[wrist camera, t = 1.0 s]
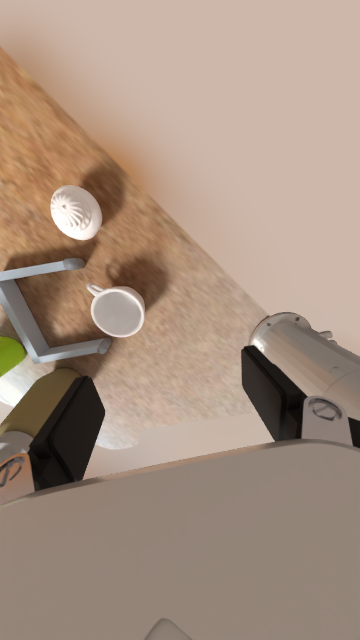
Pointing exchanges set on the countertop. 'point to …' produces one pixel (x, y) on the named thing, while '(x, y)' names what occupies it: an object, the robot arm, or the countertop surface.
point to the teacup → (117, 310)
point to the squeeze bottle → (33, 412)
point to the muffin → (76, 212)
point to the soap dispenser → (10, 354)
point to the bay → (9, 296)
